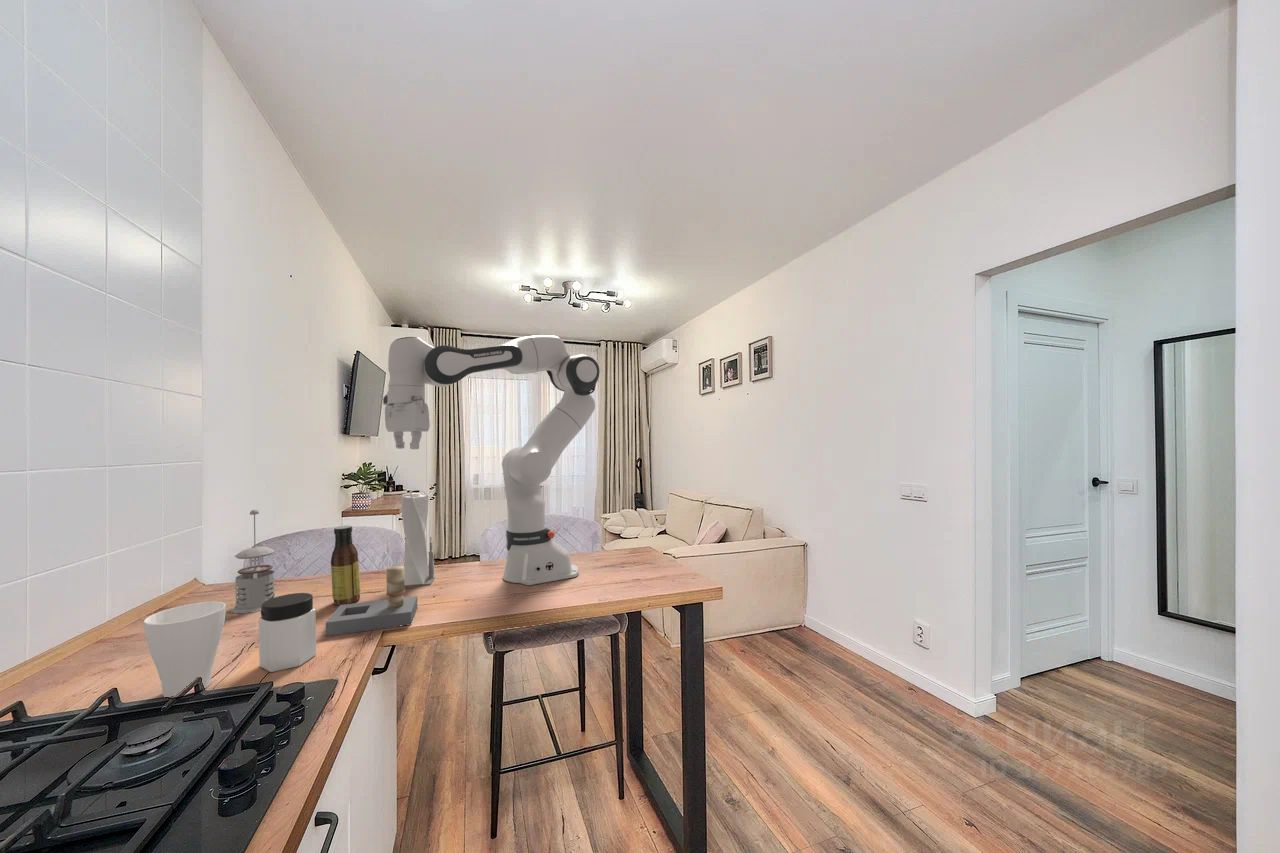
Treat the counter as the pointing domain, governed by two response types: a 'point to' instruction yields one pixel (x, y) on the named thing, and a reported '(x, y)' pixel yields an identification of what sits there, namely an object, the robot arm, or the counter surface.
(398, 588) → the peg
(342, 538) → the sauce bottle
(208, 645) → the cup
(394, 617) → the board
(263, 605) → the jar
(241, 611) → the french press
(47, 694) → the counter surface
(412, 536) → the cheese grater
